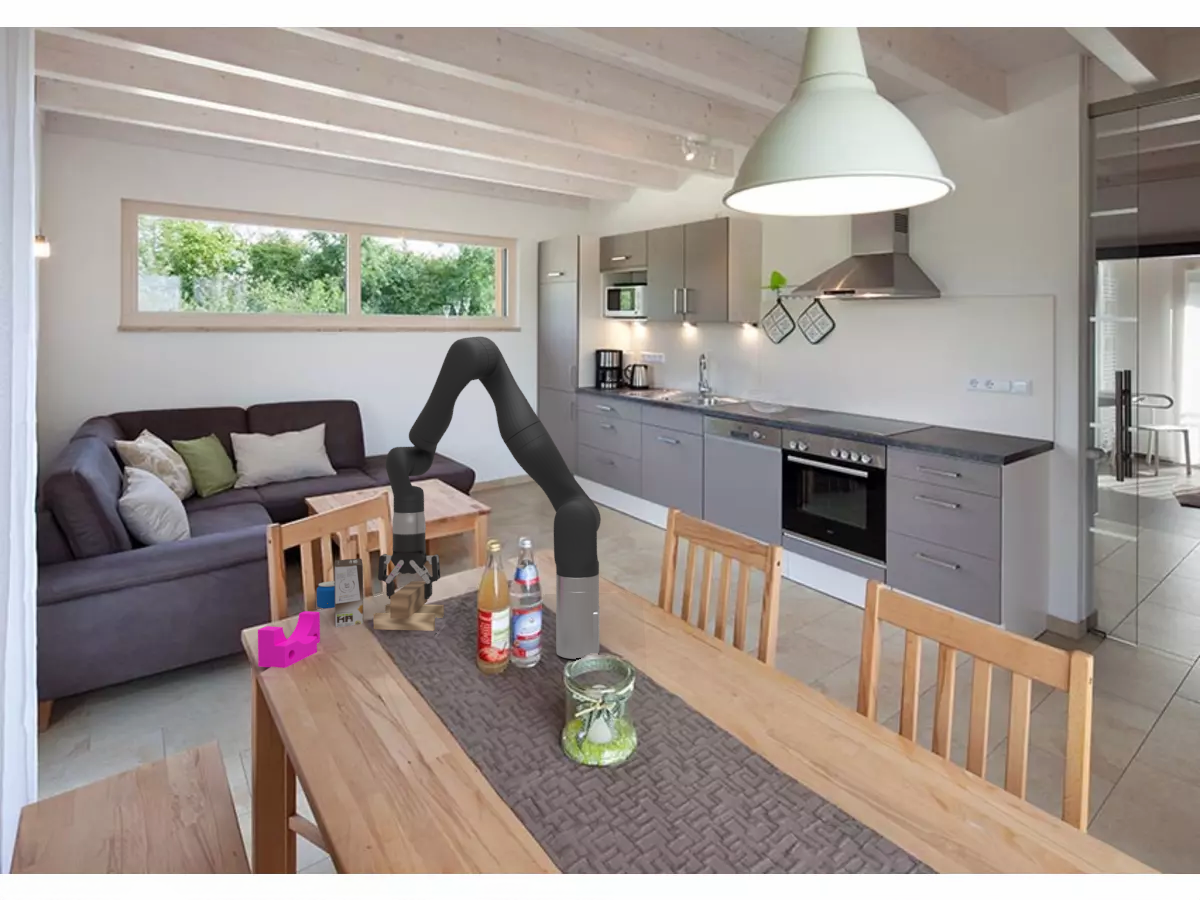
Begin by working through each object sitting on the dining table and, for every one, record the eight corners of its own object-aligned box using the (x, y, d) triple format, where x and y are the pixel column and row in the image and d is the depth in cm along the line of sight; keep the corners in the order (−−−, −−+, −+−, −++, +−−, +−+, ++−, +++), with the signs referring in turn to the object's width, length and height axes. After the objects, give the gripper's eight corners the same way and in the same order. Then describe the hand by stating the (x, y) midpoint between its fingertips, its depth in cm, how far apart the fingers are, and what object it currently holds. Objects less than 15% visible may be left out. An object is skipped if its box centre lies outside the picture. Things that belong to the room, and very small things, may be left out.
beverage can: (348, 627, 181) (347, 580, 181) (339, 634, 174) (338, 585, 174) (322, 627, 181) (322, 581, 180) (313, 634, 174) (312, 586, 174)
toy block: (285, 668, 141) (284, 631, 141) (258, 666, 142) (257, 629, 142) (330, 646, 155) (329, 612, 155) (305, 644, 157) (304, 611, 157)
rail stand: (449, 623, 174) (449, 602, 173) (435, 638, 161) (435, 616, 160) (385, 622, 174) (385, 602, 174) (366, 637, 161) (366, 616, 161)
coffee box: (363, 632, 166) (363, 564, 165) (334, 635, 163) (334, 566, 163) (362, 622, 174) (362, 557, 174) (335, 624, 172) (334, 559, 172)
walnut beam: (407, 618, 159) (407, 596, 159) (390, 618, 159) (390, 596, 159) (427, 601, 175) (427, 581, 175) (411, 601, 175) (411, 581, 175)
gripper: (373, 532, 163) (374, 602, 164) (434, 533, 163) (434, 602, 163) (384, 528, 171) (385, 594, 171) (442, 528, 170) (443, 595, 171)
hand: (409, 598), depth 167 cm, fingers open, 8 cm apart
